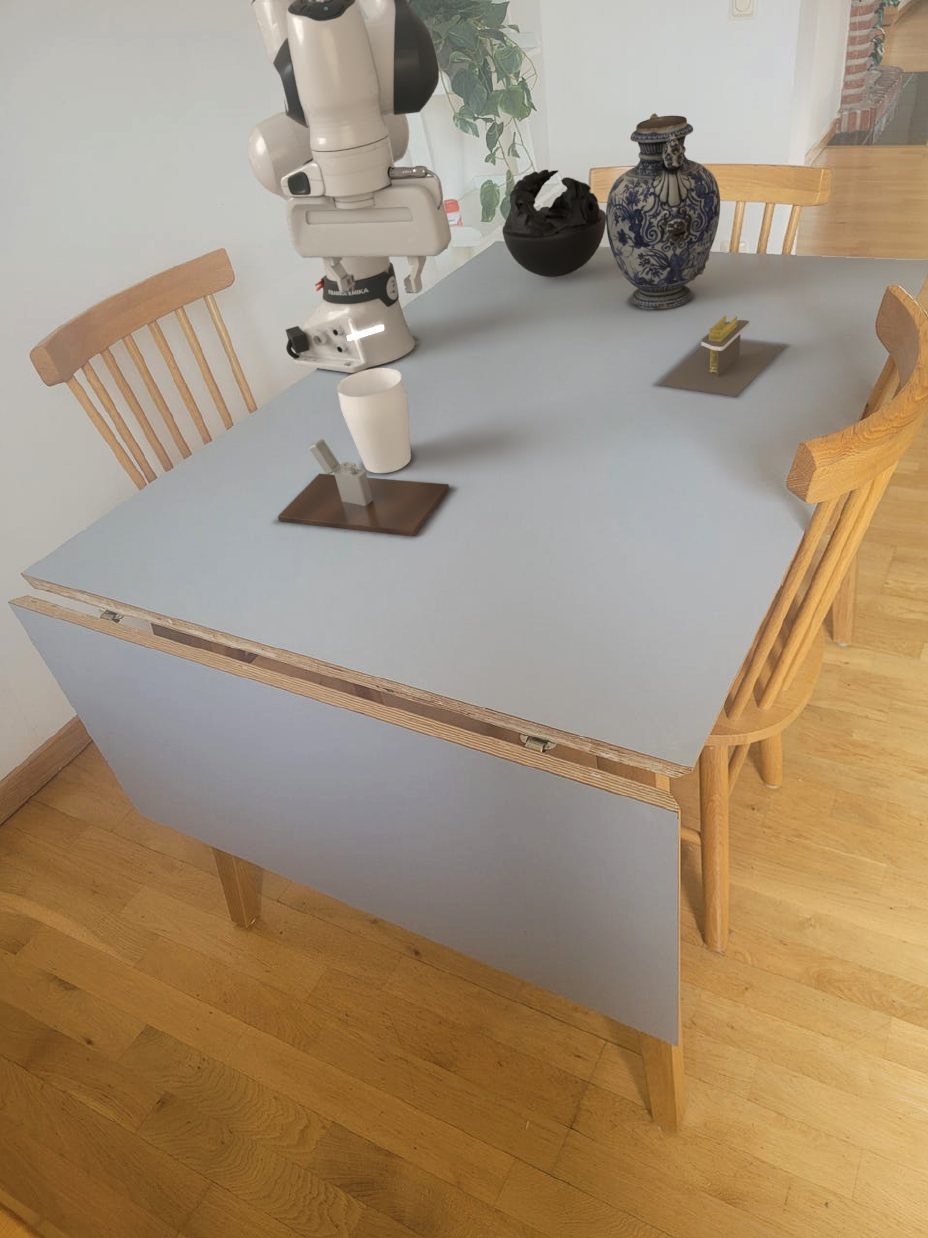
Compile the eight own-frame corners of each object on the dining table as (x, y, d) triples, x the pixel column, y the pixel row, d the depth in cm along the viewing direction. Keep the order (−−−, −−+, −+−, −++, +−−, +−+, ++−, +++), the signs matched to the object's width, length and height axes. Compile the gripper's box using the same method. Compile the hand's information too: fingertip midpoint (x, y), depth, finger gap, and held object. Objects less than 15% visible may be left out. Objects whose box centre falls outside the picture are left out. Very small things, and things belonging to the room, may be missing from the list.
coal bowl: (507, 265, 179) (495, 167, 167) (602, 251, 176) (597, 150, 165) (509, 298, 163) (497, 193, 151) (614, 282, 161) (609, 174, 149)
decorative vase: (729, 312, 142) (738, 122, 124) (618, 328, 144) (611, 144, 126) (702, 271, 158) (706, 99, 141) (602, 286, 160) (594, 118, 143)
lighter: (373, 499, 110) (359, 444, 105) (365, 506, 109) (351, 450, 104) (331, 490, 114) (315, 437, 109) (323, 497, 113) (307, 443, 108)
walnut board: (279, 521, 111) (277, 516, 111) (320, 478, 119) (319, 473, 118) (414, 536, 103) (413, 531, 103) (449, 489, 111) (448, 483, 110)
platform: (658, 384, 125) (657, 341, 121) (710, 337, 135) (711, 296, 131) (736, 396, 119) (738, 351, 114) (784, 345, 129) (788, 302, 125)
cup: (428, 446, 121) (412, 367, 113) (405, 479, 115) (387, 397, 107) (371, 445, 124) (352, 367, 116) (346, 477, 118) (324, 397, 110)
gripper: (449, 156, 94) (466, 281, 103) (296, 166, 102) (324, 281, 111) (425, 172, 90) (446, 302, 99) (268, 181, 98) (300, 300, 107)
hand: (380, 291), depth 105 cm, fingers open, 8 cm apart
